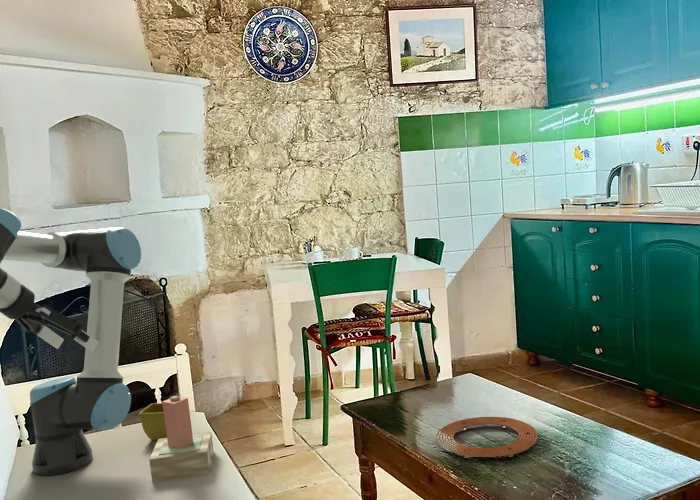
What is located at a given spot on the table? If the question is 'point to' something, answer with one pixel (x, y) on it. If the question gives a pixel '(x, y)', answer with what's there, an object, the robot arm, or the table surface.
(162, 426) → the flower pot
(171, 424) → the pink knobbed block
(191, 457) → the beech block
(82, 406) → the robot arm
